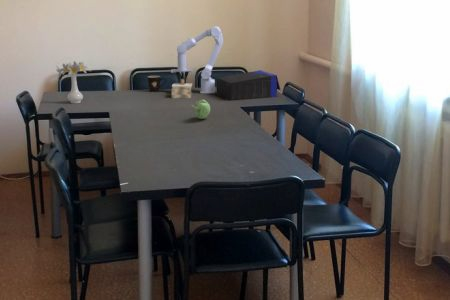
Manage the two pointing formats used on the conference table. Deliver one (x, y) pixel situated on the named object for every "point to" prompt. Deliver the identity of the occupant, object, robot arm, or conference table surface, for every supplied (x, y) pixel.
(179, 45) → the robot arm
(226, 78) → the headphone box
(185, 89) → the box
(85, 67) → the flower vase
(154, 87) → the coffee mug
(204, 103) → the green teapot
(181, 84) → the lid
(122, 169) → the conference table surface
